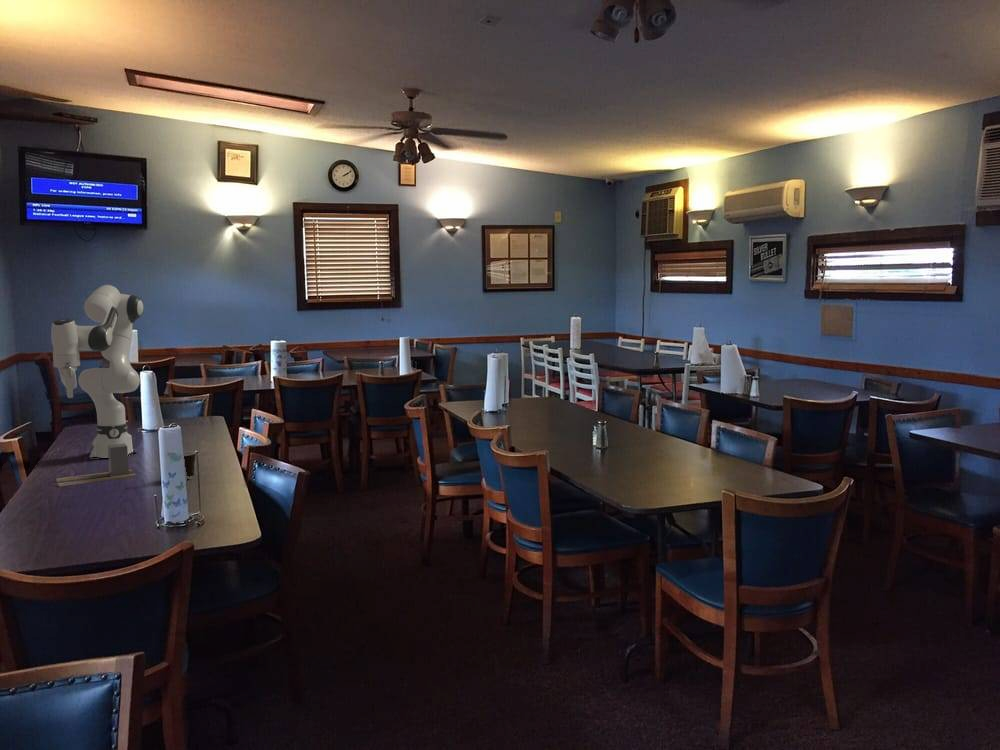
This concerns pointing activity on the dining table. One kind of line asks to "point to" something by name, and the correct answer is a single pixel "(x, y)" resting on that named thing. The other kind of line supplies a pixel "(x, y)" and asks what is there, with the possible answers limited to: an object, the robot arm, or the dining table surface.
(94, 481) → the chute
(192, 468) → the coffee mug
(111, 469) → the block
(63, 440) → the dining table surface
